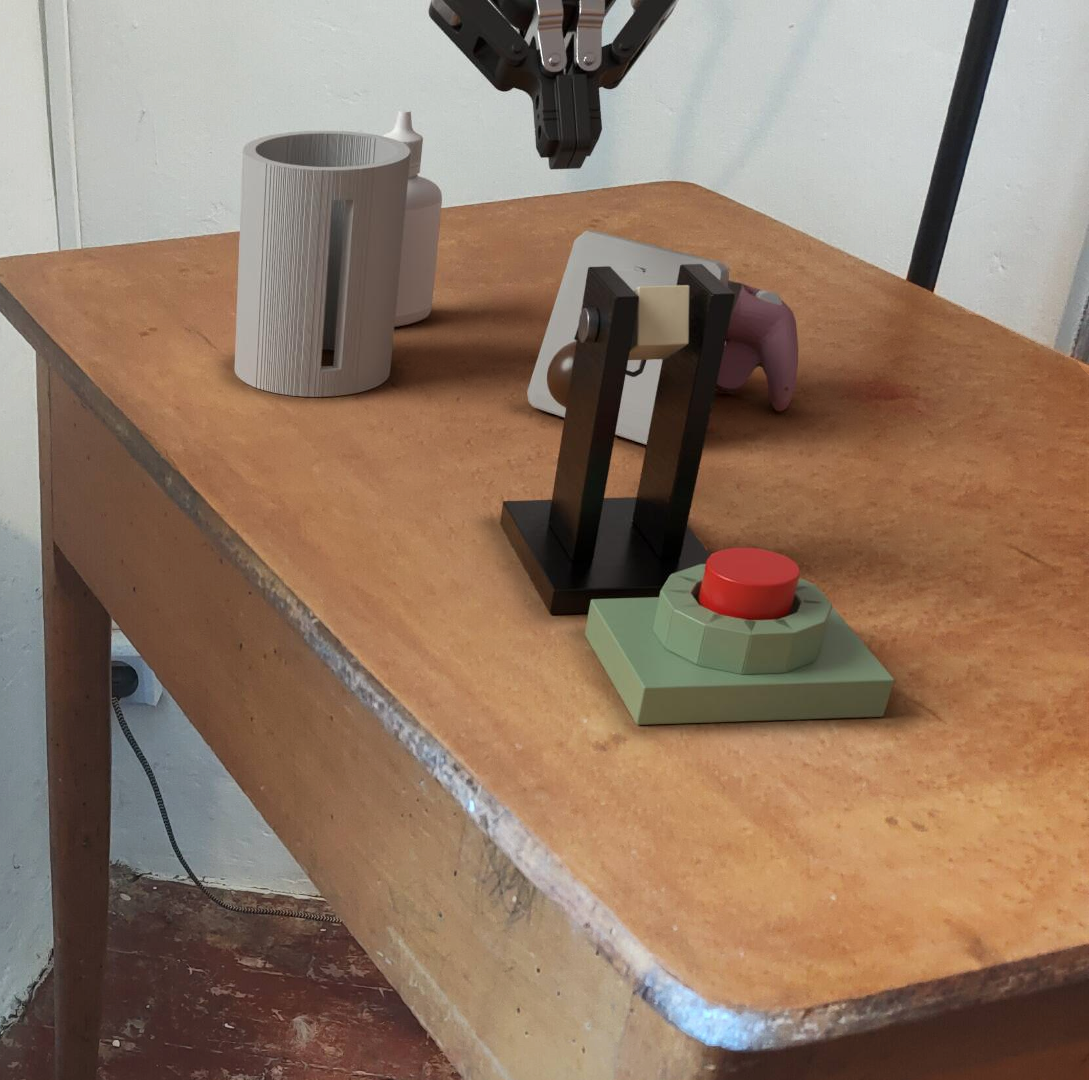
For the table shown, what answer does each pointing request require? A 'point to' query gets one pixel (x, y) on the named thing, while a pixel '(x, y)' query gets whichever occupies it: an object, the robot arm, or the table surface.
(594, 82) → the robot arm
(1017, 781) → the table surface
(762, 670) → the button block
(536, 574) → the bracket
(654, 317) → the lever
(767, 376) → the video game controller
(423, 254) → the eye dropper bottle
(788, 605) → the button
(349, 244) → the cup
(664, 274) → the electrical switch
